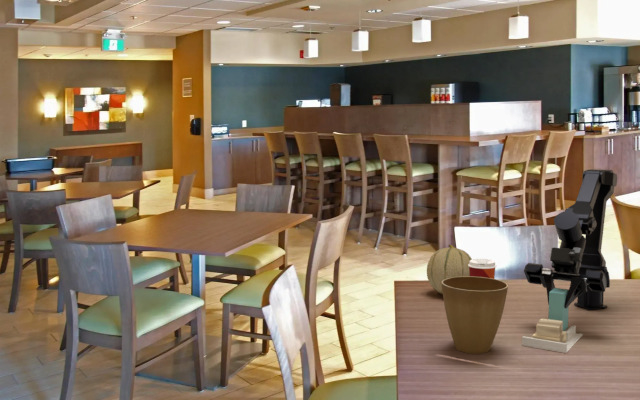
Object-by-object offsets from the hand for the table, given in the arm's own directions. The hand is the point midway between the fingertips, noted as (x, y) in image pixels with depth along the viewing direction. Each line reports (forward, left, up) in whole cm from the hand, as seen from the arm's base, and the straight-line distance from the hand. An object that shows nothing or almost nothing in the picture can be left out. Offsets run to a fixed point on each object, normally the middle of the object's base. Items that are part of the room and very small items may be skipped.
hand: (557, 306), depth 168 cm
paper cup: (+1, -29, -8) cm, 30 cm away
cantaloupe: (-1, -47, -8) cm, 48 cm away
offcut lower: (+5, +3, -8) cm, 10 cm away
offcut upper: (+5, +3, -5) cm, 8 cm away
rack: (+2, +1, -8) cm, 9 cm away
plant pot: (+23, -2, -8) cm, 24 cm away
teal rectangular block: (-1, -1, -6) cm, 6 cm away
